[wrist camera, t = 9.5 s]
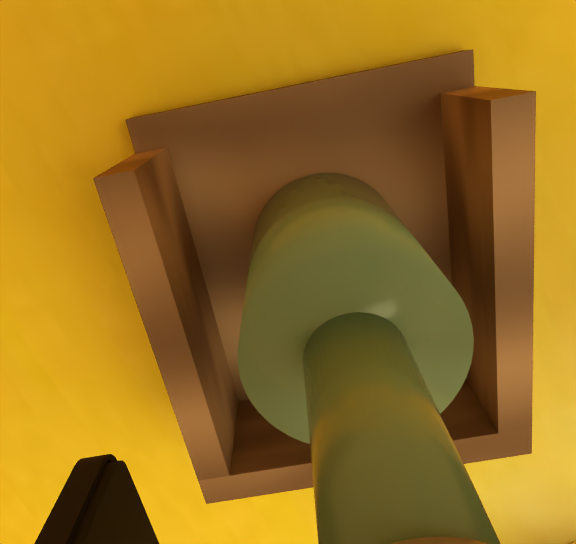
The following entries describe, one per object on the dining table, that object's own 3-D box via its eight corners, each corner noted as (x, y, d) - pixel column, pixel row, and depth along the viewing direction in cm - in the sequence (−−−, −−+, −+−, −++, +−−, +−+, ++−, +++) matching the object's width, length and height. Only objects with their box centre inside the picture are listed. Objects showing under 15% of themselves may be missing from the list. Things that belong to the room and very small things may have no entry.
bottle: (237, 188, 18) (116, 581, 4) (389, 159, 18) (767, 481, 4) (268, 320, 20) (253, 848, 7) (404, 296, 20) (677, 797, 6)
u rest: (131, 117, 18) (78, 135, 13) (464, 50, 17) (536, 43, 12) (221, 414, 23) (206, 503, 19) (478, 372, 23) (531, 453, 18)
